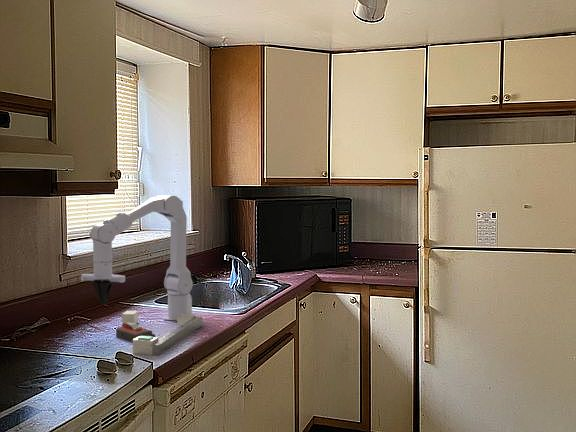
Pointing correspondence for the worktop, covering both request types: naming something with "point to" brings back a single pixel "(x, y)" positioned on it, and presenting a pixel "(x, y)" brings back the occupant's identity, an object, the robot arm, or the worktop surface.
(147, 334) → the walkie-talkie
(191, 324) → the off-white long bar
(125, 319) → the module
